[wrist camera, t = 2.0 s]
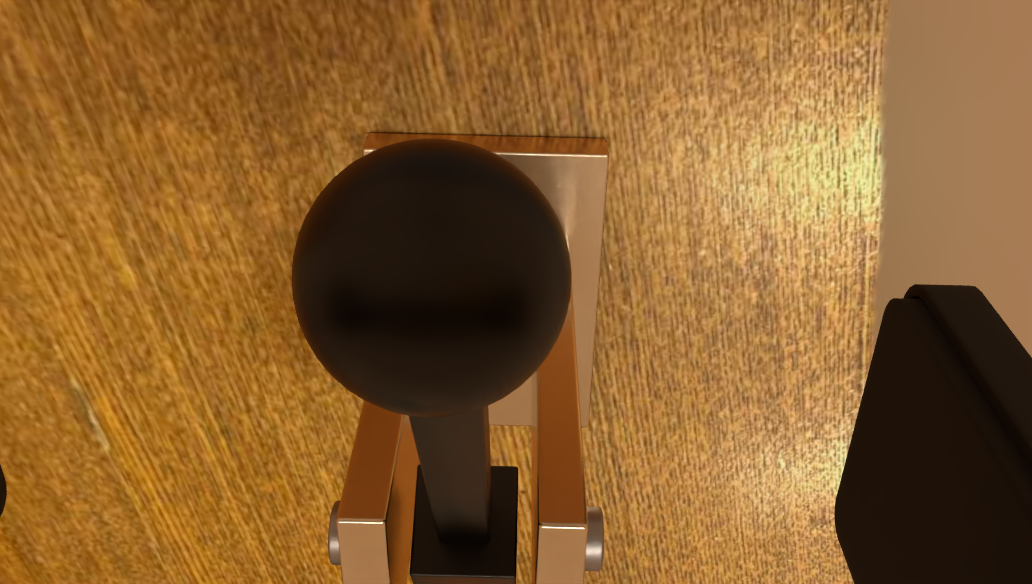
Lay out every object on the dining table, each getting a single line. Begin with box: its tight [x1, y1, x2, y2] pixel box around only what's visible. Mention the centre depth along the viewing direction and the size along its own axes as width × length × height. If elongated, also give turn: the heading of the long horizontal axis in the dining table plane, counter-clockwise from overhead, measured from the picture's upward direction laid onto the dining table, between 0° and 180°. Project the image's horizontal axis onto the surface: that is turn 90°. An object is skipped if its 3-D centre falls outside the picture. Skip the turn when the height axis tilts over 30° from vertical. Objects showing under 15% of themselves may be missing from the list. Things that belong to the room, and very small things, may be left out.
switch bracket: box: [328, 133, 609, 584], centre depth 26 cm, size 10×7×13 cm
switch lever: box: [292, 138, 572, 584], centre depth 16 cm, size 15×3×3 cm, turn 179°
